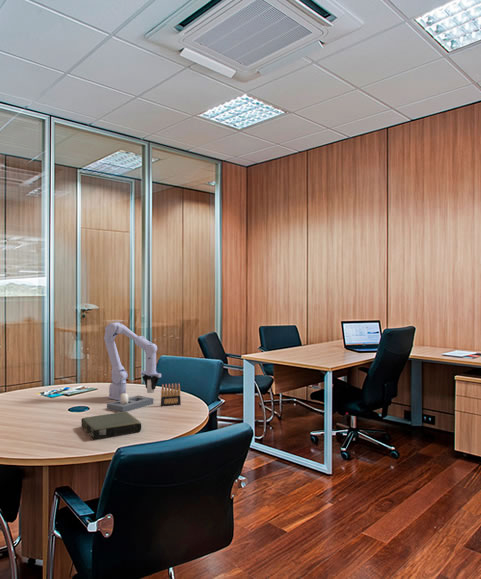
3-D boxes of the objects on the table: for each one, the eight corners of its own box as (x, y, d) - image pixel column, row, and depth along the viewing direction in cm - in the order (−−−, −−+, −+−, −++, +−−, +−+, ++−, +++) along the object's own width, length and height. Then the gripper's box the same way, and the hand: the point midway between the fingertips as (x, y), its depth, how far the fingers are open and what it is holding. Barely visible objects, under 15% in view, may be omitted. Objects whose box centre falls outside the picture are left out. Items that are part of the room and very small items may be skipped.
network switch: (75, 429, 196) (75, 418, 196) (124, 420, 211) (124, 409, 211) (95, 443, 178) (95, 430, 178) (147, 431, 193) (147, 420, 193)
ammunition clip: (161, 406, 235) (161, 384, 235) (160, 405, 237) (160, 383, 237) (180, 405, 239) (180, 383, 239) (180, 404, 240) (180, 382, 240)
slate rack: (106, 409, 229) (107, 394, 229) (137, 400, 247) (138, 387, 247) (122, 412, 222) (122, 398, 222) (153, 403, 241) (153, 390, 241)
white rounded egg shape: (145, 392, 249) (145, 380, 250) (150, 391, 253) (150, 379, 253) (150, 393, 247) (150, 380, 247) (155, 391, 251) (155, 379, 251)
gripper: (165, 365, 250) (164, 389, 249) (146, 362, 257) (146, 385, 257) (156, 366, 244) (156, 391, 244) (138, 364, 252) (137, 387, 251)
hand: (150, 388), depth 250 cm, fingers closed on white rounded egg shape, 4 cm apart
